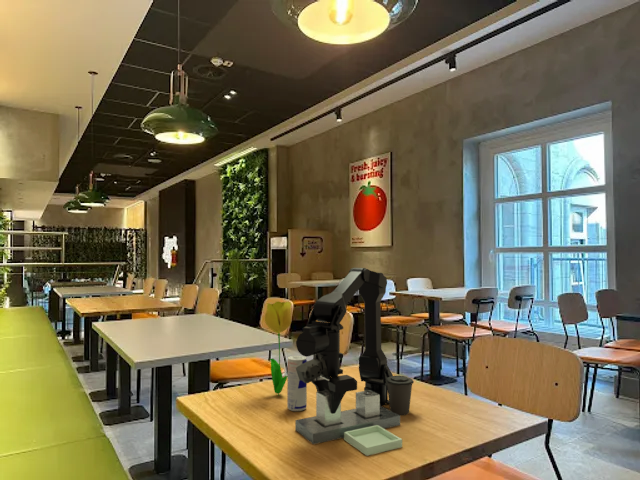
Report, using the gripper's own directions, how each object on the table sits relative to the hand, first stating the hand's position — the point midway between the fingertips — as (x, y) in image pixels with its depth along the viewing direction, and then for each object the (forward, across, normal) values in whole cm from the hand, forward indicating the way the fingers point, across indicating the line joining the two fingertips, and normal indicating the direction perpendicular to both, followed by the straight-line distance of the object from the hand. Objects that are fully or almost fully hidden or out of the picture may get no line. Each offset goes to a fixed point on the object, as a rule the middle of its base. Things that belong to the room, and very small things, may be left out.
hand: (328, 410), depth 116 cm
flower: (+6, -33, 0) cm, 33 cm away
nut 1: (+4, 0, 0) cm, 4 cm away
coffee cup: (+6, -3, +25) cm, 26 cm away
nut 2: (+6, 0, +12) cm, 13 cm away
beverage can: (+6, -19, 0) cm, 20 cm away
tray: (+5, +11, +6) cm, 14 cm away
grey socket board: (+5, 0, +6) cm, 8 cm away
